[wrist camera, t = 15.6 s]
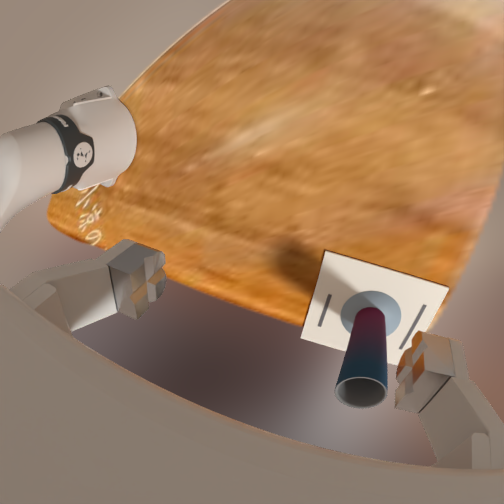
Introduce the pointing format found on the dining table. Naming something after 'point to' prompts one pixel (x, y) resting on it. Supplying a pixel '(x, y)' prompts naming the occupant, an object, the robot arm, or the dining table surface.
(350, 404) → the cup
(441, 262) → the dining table surface
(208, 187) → the dining table surface
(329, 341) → the paper sheet
